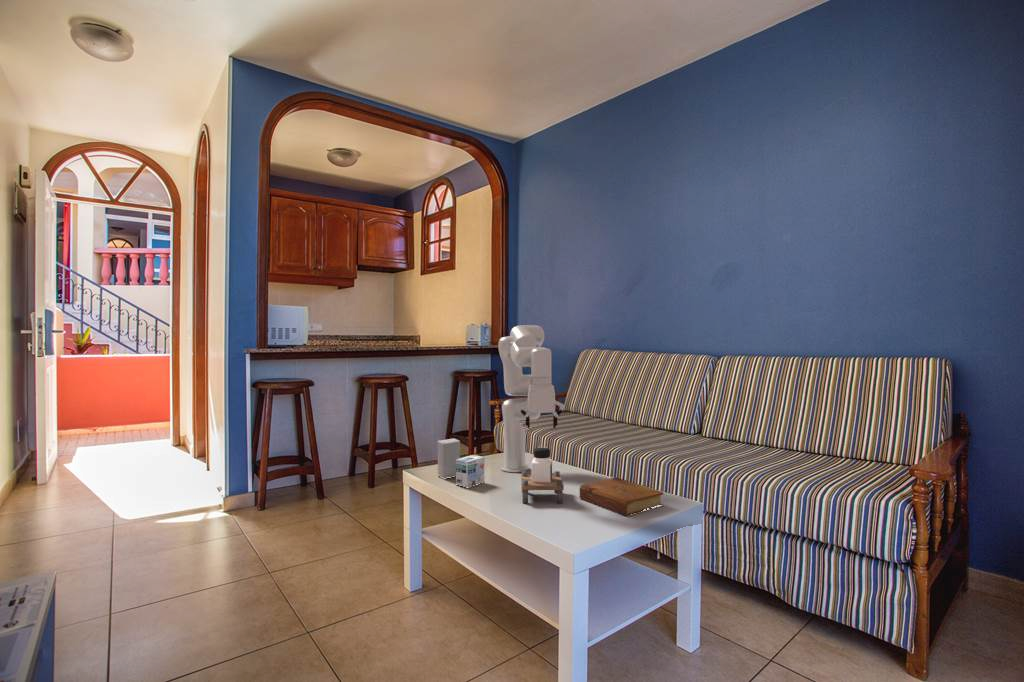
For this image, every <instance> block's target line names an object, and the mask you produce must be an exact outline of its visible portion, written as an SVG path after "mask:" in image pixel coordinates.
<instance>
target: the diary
mask: <svg viewBox="0 0 1024 682" xmlns="http://www.w3.org/2000/svg"><path fill="white" fill-rule="evenodd" d="M663 495H664V491H662V490H658V489H655V488H652V487H648V486H645V485H642V484H639V483H635V482H633V481H630V480H626V479H622V478H619V477H612V478H608V479H603V480H598V481H593V482H588V483H583V484H581V485H580V487H579V499H580V500H582V501H584V500H585V501H584V502H587V503H590V504H592V503H593V505H595V506H597V505H598V506H597V507H600V506H601V507H600V508H603V509H605V508H606V510H608V509H609V511H610V510H611V512H613V511H614V512H613V513H616V512H617V513H616V514H618V513H619V515H621V514H622V515H621V516H623V515H625V516H624V517H626V516H627V515H631V514H634V513H638V512H641V511H643V510H644V509H646V510H647V508H649V509H652V508H651V507H654V506H657V505H662V504H661V502H662V501H661V500H662V497H661V496H663ZM638 514H639V513H638ZM634 515H635V514H634ZM631 516H632V515H631ZM627 517H628V516H627Z"/></svg>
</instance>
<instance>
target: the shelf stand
mask: <svg viewBox="0 0 1024 682" xmlns="http://www.w3.org/2000/svg"><path fill="white" fill-rule="evenodd" d="M553 473H554V474H552V480H551V483H542V482H532V474H528V471H523V472H521V475H520V480H521V481H520V483H521V493H522V504H523V503H524V504H523V505H527V503H528V504H529V491H554V494H556V503H557V504H559V505H561V504H563V492H564V490H565V488H564V487H565V485H564V483H563V480H562V476H561V475H560V471H559V470H558V471H557V470H556V471H554V472H553Z"/></svg>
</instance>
